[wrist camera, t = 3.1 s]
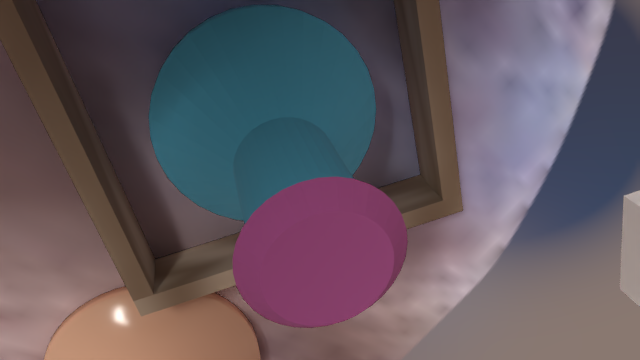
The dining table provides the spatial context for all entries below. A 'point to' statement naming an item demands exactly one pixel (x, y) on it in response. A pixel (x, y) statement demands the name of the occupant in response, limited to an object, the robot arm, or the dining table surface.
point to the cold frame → (217, 256)
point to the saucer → (154, 331)
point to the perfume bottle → (281, 159)
